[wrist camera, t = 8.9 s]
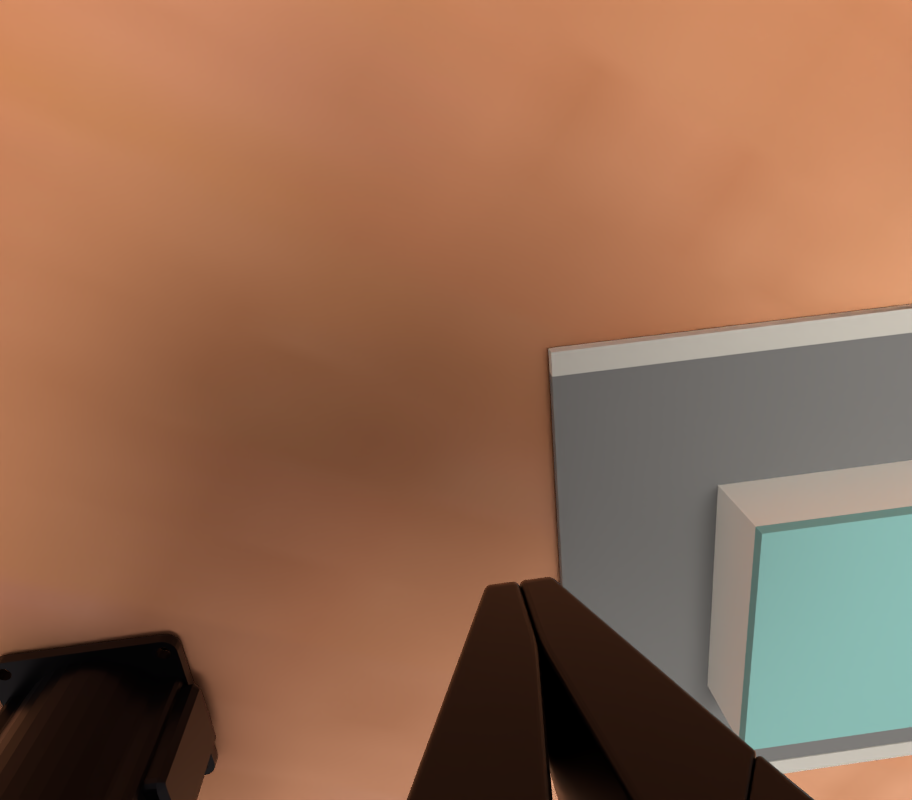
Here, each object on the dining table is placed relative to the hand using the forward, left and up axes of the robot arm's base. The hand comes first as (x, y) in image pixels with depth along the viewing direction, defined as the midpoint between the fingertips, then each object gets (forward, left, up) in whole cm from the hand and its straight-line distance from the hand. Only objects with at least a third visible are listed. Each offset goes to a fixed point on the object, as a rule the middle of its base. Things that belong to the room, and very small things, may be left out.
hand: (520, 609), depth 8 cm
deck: (+9, -11, -11) cm, 18 cm away
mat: (+12, -11, -13) cm, 21 cm away
